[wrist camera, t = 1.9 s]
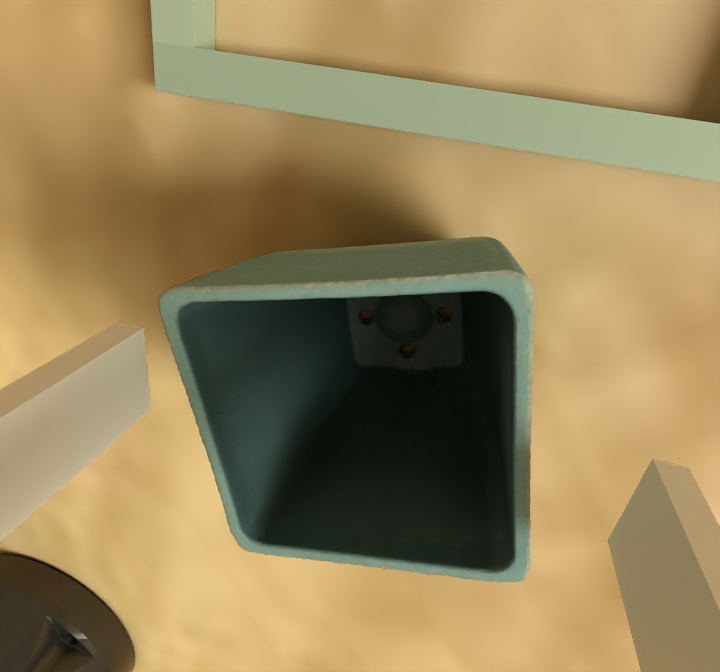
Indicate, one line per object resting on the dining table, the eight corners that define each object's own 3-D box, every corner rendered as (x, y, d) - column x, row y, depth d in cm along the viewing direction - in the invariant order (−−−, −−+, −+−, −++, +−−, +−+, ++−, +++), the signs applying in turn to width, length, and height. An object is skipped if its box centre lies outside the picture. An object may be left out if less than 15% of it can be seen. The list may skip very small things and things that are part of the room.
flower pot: (321, 401, 23) (234, 556, 15) (285, 216, 19) (147, 290, 11) (513, 405, 20) (530, 590, 13) (513, 194, 17) (535, 268, 9)
